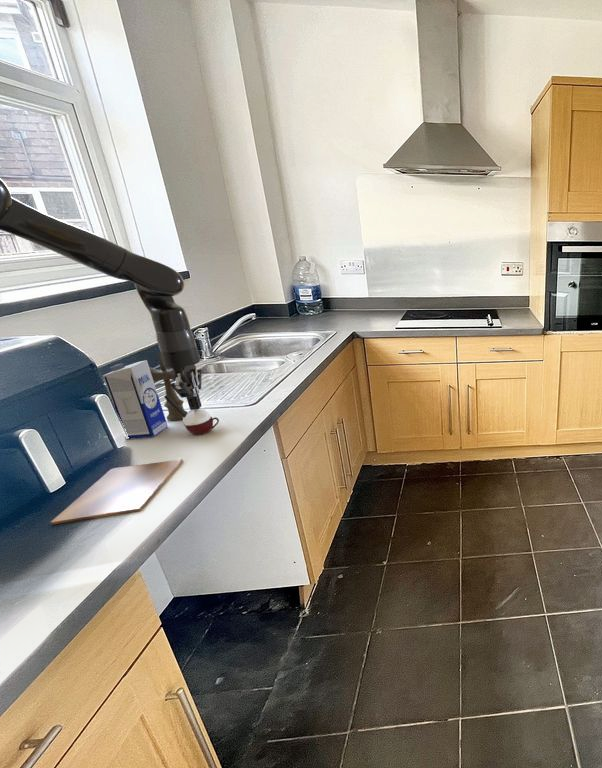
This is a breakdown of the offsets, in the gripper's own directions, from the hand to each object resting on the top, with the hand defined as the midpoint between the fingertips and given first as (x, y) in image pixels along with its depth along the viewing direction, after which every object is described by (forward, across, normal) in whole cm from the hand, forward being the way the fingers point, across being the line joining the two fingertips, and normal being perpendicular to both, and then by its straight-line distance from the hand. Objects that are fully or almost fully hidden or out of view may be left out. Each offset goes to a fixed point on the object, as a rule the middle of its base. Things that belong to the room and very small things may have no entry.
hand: (196, 408), depth 113 cm
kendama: (+7, -13, -10) cm, 18 cm away
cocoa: (+7, 0, 0) cm, 7 cm away
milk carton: (+7, -4, -14) cm, 17 cm away
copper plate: (+7, +27, -6) cm, 29 cm away
